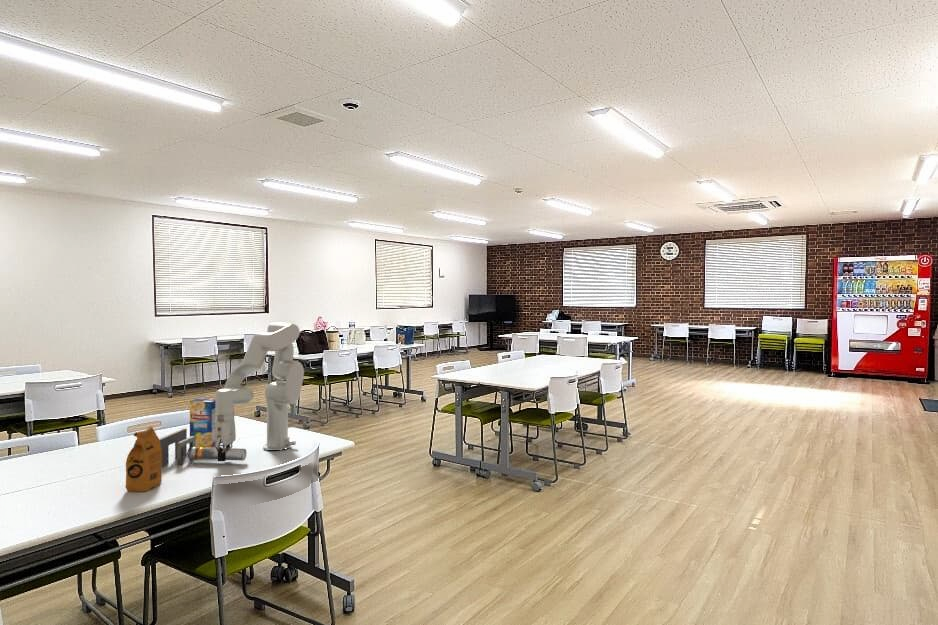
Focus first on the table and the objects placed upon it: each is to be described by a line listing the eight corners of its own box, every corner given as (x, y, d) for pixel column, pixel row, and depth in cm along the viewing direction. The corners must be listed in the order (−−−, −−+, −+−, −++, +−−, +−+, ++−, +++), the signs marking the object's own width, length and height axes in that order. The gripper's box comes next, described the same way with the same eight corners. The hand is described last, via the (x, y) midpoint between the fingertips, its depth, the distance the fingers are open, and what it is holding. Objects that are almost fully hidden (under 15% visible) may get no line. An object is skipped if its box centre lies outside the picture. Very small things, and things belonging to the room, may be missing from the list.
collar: (194, 458, 250) (195, 436, 249) (180, 465, 239) (180, 442, 238) (191, 457, 250) (191, 436, 249) (177, 465, 239) (177, 442, 238)
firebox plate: (186, 454, 255) (186, 428, 254) (159, 468, 234) (159, 440, 234) (183, 454, 255) (183, 428, 254) (155, 468, 234) (155, 439, 234)
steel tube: (246, 458, 245) (246, 447, 245) (241, 461, 240) (241, 450, 240) (193, 457, 246) (193, 445, 246) (186, 460, 241) (187, 448, 241)
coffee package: (120, 492, 206) (120, 433, 205) (141, 481, 218) (140, 425, 218) (147, 493, 206) (147, 433, 205) (166, 481, 218) (166, 426, 217)
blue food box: (211, 447, 267) (211, 401, 266) (189, 446, 267) (189, 401, 267) (219, 443, 273) (219, 399, 273) (197, 443, 274) (197, 398, 273)
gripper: (223, 422, 234) (223, 465, 234) (242, 413, 251) (242, 453, 251) (206, 421, 234) (206, 464, 235) (225, 413, 251) (225, 453, 252)
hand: (224, 458), depth 243 cm, fingers closed on steel tube, 5 cm apart
